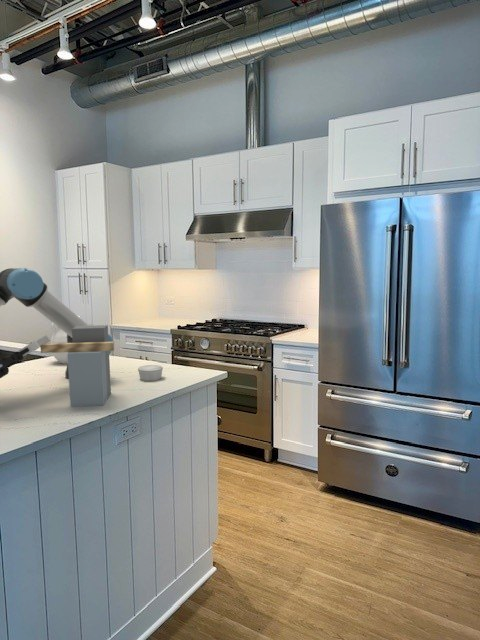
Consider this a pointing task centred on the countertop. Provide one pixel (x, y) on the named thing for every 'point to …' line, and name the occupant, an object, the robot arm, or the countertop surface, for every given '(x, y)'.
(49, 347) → the oak bar
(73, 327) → the robot arm
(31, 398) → the countertop surface
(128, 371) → the countertop surface
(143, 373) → the ramekin
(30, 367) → the countertop surface
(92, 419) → the countertop surface
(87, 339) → the stand
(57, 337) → the pitcher
